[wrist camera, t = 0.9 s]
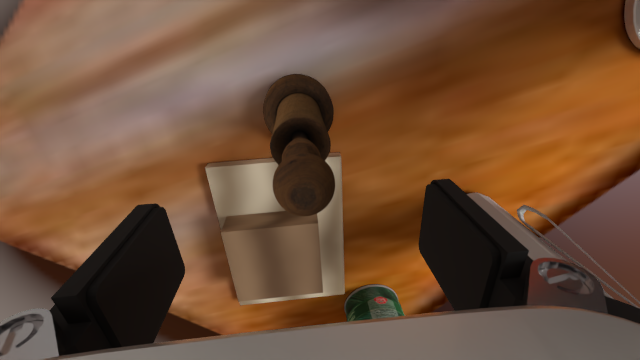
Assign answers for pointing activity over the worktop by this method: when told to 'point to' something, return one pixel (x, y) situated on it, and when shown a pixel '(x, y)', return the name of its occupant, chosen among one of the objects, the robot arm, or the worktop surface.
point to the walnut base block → (273, 254)
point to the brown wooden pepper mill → (300, 143)
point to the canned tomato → (372, 303)
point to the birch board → (258, 197)
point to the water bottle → (533, 235)
